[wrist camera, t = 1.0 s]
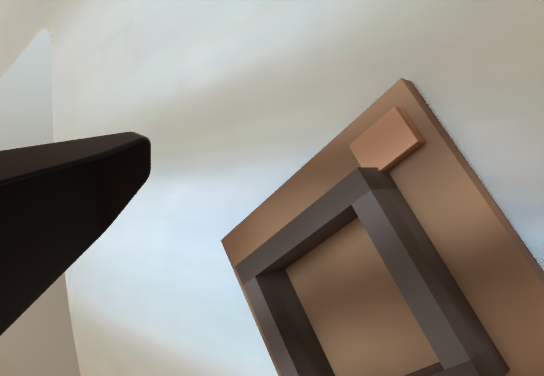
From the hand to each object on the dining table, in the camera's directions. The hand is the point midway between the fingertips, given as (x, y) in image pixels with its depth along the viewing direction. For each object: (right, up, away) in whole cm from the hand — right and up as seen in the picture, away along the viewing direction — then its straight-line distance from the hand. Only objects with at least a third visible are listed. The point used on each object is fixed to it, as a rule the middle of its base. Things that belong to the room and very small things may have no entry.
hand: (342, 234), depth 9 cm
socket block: (+4, -5, +15) cm, 16 cm away
